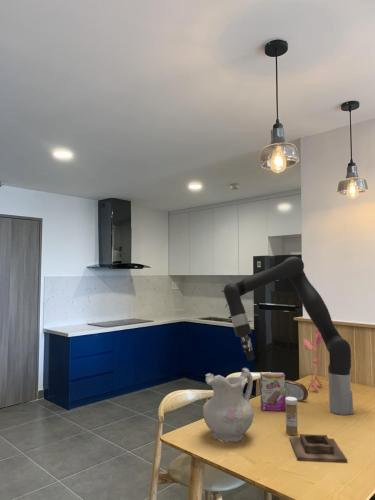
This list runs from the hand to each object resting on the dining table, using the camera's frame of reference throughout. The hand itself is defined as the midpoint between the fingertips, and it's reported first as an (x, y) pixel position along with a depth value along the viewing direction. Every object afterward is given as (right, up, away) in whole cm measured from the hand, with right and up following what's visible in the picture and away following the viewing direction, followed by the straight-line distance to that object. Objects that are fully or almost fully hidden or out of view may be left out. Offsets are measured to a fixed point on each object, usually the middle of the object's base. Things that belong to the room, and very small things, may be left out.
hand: (251, 359), depth 171 cm
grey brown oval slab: (+24, -25, +17) cm, 38 cm away
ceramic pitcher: (-12, -22, -26) cm, 36 cm away
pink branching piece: (+44, -26, +30) cm, 59 cm away
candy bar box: (+10, -24, +2) cm, 26 cm away
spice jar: (+12, -22, -25) cm, 35 cm away
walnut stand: (+16, -21, -39) cm, 47 cm away
